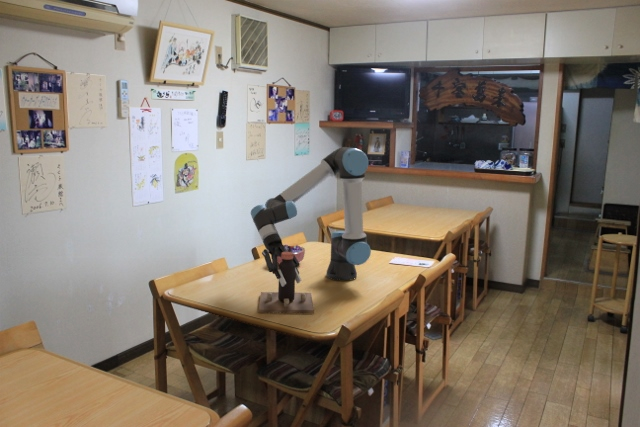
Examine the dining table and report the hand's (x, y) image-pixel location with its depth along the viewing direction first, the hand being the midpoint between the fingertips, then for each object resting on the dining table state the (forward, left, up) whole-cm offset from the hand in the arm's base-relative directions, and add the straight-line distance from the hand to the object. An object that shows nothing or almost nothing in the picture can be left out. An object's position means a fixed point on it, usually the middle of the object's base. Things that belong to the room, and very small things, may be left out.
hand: (291, 283), depth 221 cm
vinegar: (+2, -3, -8) cm, 9 cm away
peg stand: (+2, -3, -10) cm, 11 cm away
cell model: (0, -67, -10) cm, 68 cm away
